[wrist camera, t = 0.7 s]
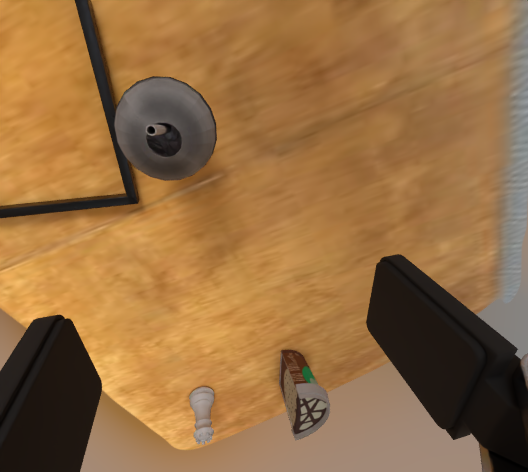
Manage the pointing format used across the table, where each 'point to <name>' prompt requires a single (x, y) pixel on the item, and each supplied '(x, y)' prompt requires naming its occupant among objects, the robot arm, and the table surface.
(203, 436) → the rook chess piece
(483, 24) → the table surface
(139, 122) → the beverage cup
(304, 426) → the food container
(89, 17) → the frame
